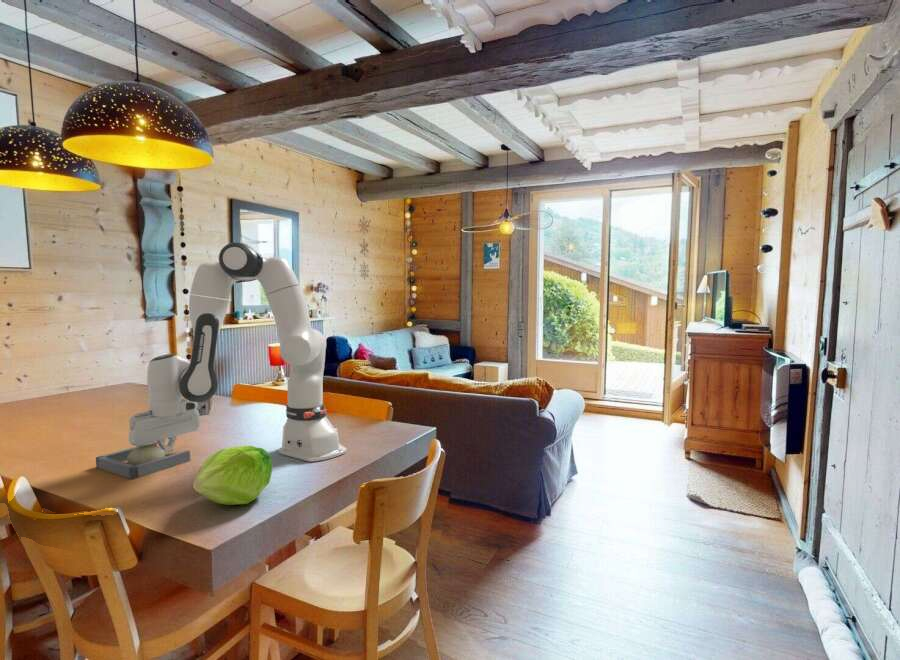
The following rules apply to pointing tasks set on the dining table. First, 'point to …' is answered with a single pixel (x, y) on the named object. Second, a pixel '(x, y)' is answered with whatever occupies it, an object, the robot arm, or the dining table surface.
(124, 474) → the bay
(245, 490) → the lettuce
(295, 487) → the dining table surface
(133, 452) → the sea urchin shell
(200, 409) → the coffee box
